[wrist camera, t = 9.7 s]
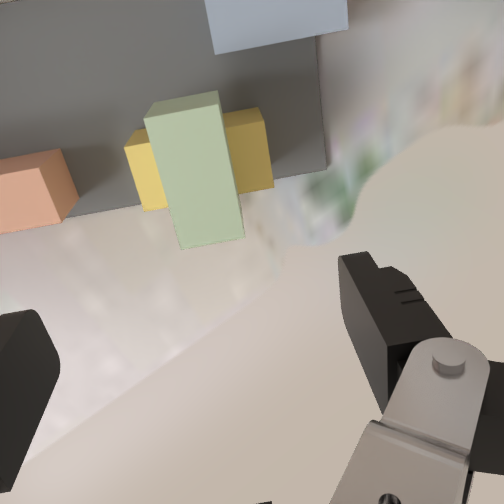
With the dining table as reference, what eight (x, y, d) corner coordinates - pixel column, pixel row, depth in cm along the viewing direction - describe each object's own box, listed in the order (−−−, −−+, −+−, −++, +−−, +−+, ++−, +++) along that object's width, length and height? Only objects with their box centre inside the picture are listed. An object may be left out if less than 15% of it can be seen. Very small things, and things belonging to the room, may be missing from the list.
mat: (18, 225, 31) (15, 227, 31) (-80, 20, 25) (-84, 20, 25) (325, 167, 31) (326, 169, 31) (305, -56, 25) (306, -57, 24)
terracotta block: (-21, 216, 30) (-51, 243, 27) (-46, 168, 29) (-82, 190, 25) (79, 198, 30) (61, 223, 27) (60, 148, 29) (38, 167, 25)
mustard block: (152, 188, 30) (144, 211, 27) (135, 130, 28) (123, 147, 25) (267, 166, 30) (274, 187, 27) (258, 106, 28) (264, 120, 25)
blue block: (214, 48, 26) (214, 54, 23) (201, -19, 25) (199, -24, 21) (330, 26, 26) (348, 29, 23) (325, -44, 25) (344, -52, 21)
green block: (153, 102, 24) (143, 118, 20) (217, 90, 24) (218, 104, 20) (185, 219, 27) (180, 250, 24) (241, 208, 27) (245, 237, 24)
